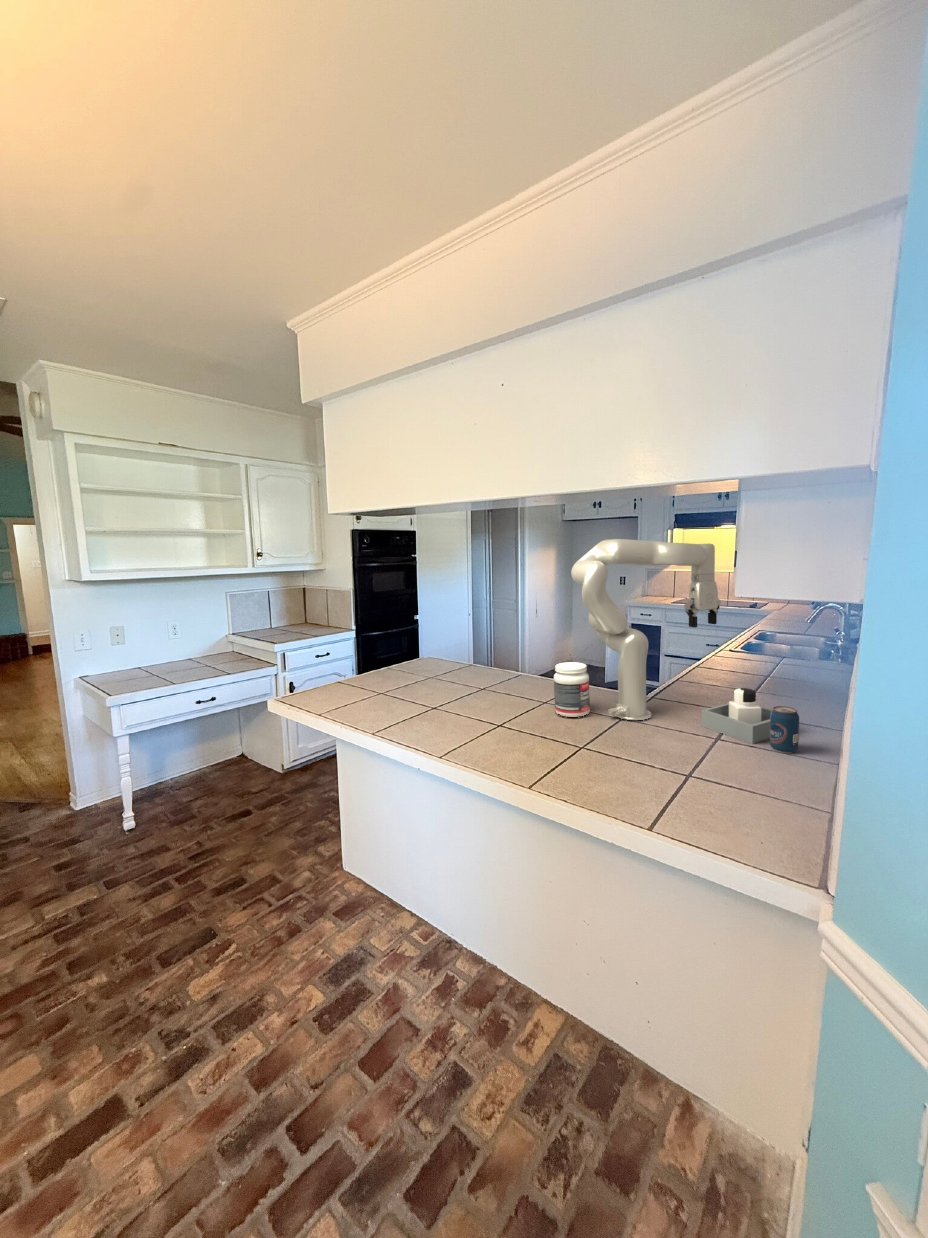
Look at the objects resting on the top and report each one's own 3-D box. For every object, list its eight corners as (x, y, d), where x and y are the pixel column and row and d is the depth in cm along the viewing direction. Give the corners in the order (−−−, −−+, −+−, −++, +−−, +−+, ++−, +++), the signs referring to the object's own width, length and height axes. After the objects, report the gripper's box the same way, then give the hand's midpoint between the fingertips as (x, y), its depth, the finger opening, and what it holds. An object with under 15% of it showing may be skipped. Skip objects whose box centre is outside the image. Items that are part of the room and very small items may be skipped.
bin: (752, 744, 147) (752, 726, 146) (701, 726, 163) (701, 710, 162) (791, 731, 154) (791, 714, 153) (738, 715, 170) (738, 700, 169)
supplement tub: (591, 719, 176) (590, 669, 173) (555, 719, 178) (553, 670, 175) (588, 707, 188) (587, 661, 186) (554, 708, 190) (552, 662, 188)
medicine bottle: (751, 721, 161) (752, 686, 160) (761, 729, 154) (762, 692, 153) (728, 721, 162) (728, 686, 161) (737, 729, 155) (737, 693, 154)
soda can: (764, 747, 144) (764, 708, 142) (780, 742, 146) (781, 704, 145) (786, 756, 137) (787, 714, 136) (804, 751, 140) (805, 710, 138)
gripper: (694, 580, 169) (694, 629, 171) (729, 576, 176) (728, 623, 178) (676, 580, 176) (676, 627, 178) (710, 576, 183) (710, 621, 185)
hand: (702, 625), depth 178 cm, fingers open, 9 cm apart
